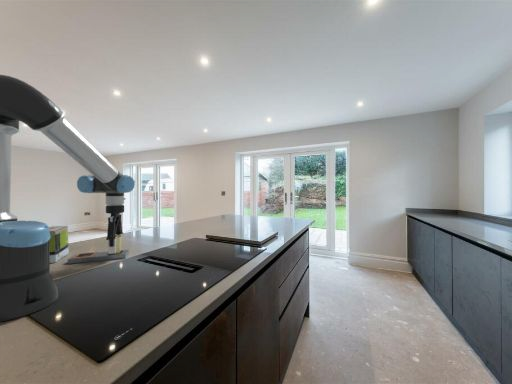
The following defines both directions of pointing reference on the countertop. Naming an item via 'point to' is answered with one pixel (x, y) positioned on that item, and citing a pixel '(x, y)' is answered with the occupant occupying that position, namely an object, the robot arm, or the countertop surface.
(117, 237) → the brass block with knob
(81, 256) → the plate with square holes
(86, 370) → the countertop surface
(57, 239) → the tea box
